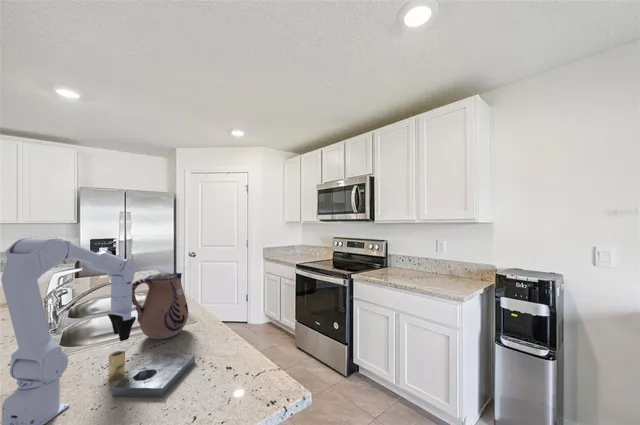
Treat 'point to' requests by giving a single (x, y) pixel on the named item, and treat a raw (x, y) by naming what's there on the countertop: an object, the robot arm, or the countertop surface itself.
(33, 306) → the robot arm
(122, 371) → the slip bushing
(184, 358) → the plate
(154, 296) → the ceramic pitcher
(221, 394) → the countertop surface
